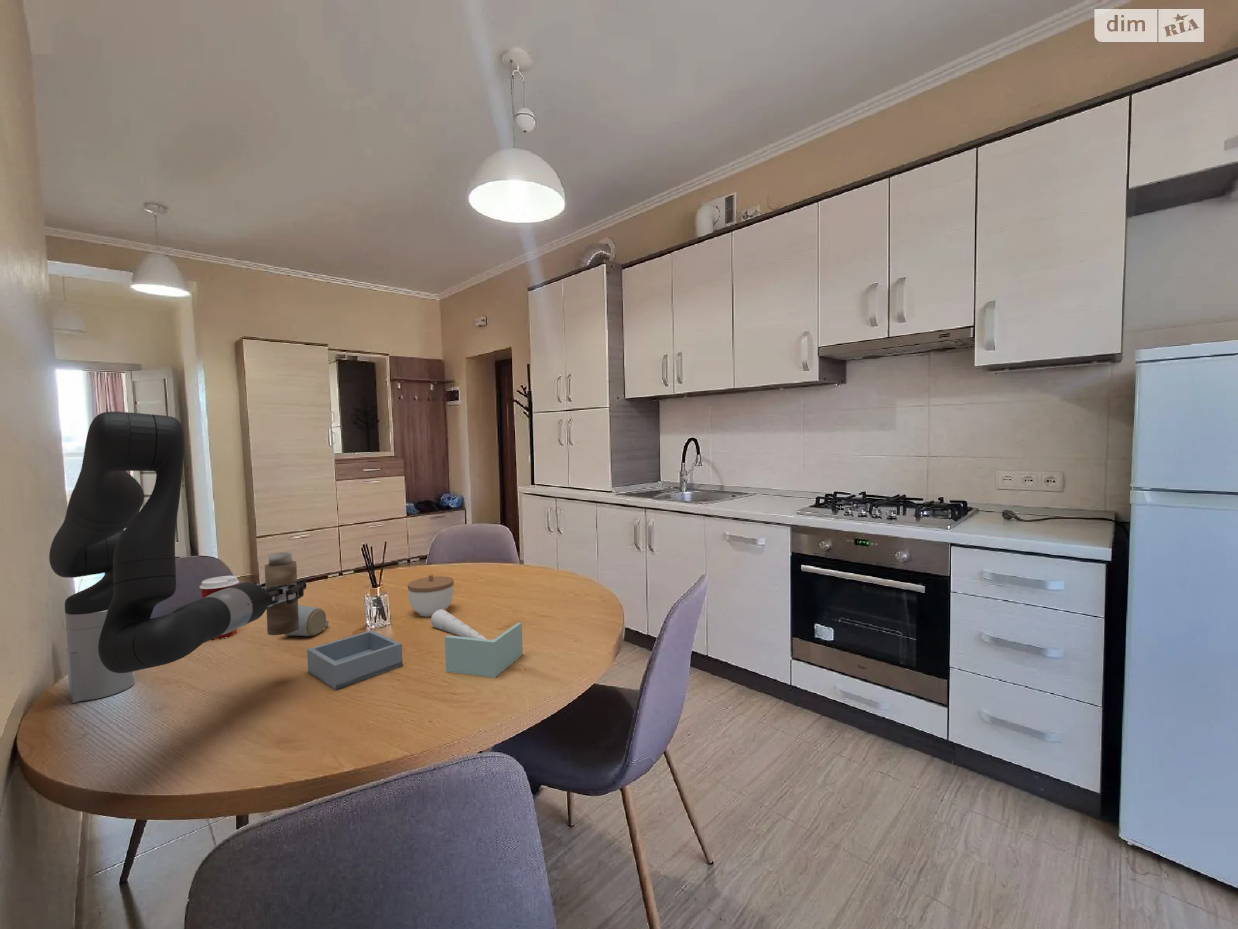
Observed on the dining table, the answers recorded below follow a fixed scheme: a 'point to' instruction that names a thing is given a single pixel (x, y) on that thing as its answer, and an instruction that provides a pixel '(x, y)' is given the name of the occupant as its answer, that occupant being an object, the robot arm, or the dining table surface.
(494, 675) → the right angle wall
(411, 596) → the lidded bowl
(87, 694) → the robot arm
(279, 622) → the pepper mill
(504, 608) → the dining table surface
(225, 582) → the coffee cup
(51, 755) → the dining table surface
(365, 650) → the bin
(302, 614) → the ceramic mug
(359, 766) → the dining table surface
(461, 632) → the unicorn horn
